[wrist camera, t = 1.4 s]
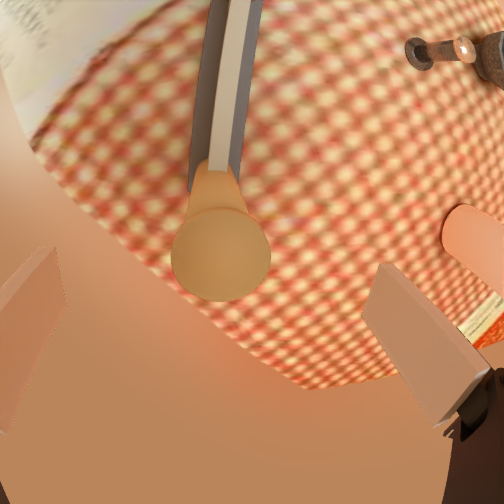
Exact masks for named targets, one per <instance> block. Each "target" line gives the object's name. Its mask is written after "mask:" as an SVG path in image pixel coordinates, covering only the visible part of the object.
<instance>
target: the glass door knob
mask: <svg viewBox="0 0 504 504" xmlns="http://www.w3.org/2000/svg"><path fill="white" fill-rule="evenodd" d="M405 52H406V56H407V58H408V60H409V62H410V63H411V65H412V66H413V67H415V68H416V69H418V70H422V71H424V70H429V69H430V68H431V67H432V66H433V63H434V62H441V61H462V62H463V63H473V62H474V61H475V60H476V51H475V48H474V45H473V44H472V42H471V41H470V40H469V39H468V38H467V37H465V36H459V37H455V38H454V40H448V41H440V42H433V43H426V42H425V41H424V40H422V39H420V38H411V39H409V40H408V41H407V43H406V45H405Z"/></svg>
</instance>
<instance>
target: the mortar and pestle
mask: <svg viewBox="0 0 504 504" xmlns="http://www.w3.org/2000/svg"><path fill="white" fill-rule="evenodd" d="M474 48H475V51H476V60H475V61H474V62H473V64H474V67H475V69H476V71H477V72H478V74H479V76H480V77H481V78H483V79H484V80H486V81H491V82H493V83H494V84H495V85H497V86H498V87H499V88H501V89H502V90H503V91H504V31H500V32H496V33H492V34H489V35H487V36H486V37H485V38H484V39H483V42H482V43H478V44H475V45H474Z"/></svg>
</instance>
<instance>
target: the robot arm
mask: <svg viewBox="0 0 504 504" xmlns="http://www.w3.org/2000/svg"><path fill="white" fill-rule="evenodd" d="M66 308H67V303H66V298H65V294H64V290H63V285H62V281H61V277H60V271H59V266H58V260H57V255H56V249H55V247H43V246H40V247H39V248H38V249H37V250H36V251H35V252H34V253H33V254H32V255H31V256H30V257H29V258H28V259H27V260H26V261H25V262H24V263H23V264H22V265H21V266H20V268H19V269H18V270H17V271H16V272H15V273H14V274H13V275H12V276H11V277H10V278H9V279H8V280H7V282H6V283H5V284H4V285H3V286H2V287H1V288H0V433H1V434H4V435H6V436H9V433H10V430H11V427H12V424H13V421H14V419H15V416H16V413H17V410H18V408H19V405H20V403H21V400H22V398H23V395H24V393H25V390H26V388H27V386H28V383H29V381H30V378H31V377H32V374H33V372H34V370H35V368H36V366H37V364H38V361H39V359H40V357H41V355H42V353H43V351H44V349H45V347H46V345H47V343H48V341H49V339H50V337H51V335H52V333H53V331H54V330H55V328H56V326H57V324H58V322H59V320H60V319H61V317H62V315H63V313H64V311H65V310H66ZM361 316H362V318H363V319H364V321H365V322H366V324H367V325H368V327H369V328H370V330H371V331H372V333H373V334H374V336H375V337H376V339H377V340H378V342H379V343H380V345H381V346H382V348H383V349H384V351H385V352H386V354H387V355H388V357H389V358H390V360H391V361H392V363H393V364H394V366H395V368H396V369H397V371H398V372H399V374H400V375H401V377H402V379H403V380H404V382H405V383H406V385H407V386H408V388H409V390H410V391H411V393H412V395H413V396H414V398H415V399H416V401H417V402H418V404H419V406H420V408H421V409H422V411H423V413H424V414H425V416H426V417H427V419H428V421H429V423H430V424H431V426H432V428H434V427H436V426H439V425H441V424H443V423H445V422H447V421H448V420H449V419H450V418H451V416H452V415H453V414H454V413H455V412H456V411H457V412H458V414H459V417H458V418H457V419H456V420H455V421H454V422H453V423H452V424H451V425H450V426H449V427H448V428H447V429H446V430H445V431H444V434H443V436H446V435H447V434H448V433H449V432H450V431H451V430H453V429H454V431H453V432H452V433H451V434H450V436H449V438H452V439H453V443H452V452H451V459H450V465H449V472H448V477H447V482H446V487H445V492H444V496H443V501H442V504H504V368H498V369H497V370H496V371H495V370H494V369H493V368H492V367H491V366H490V365H489V364H488V362H487V361H486V360H485V359H484V358H483V356H482V355H481V354H480V353H479V352H478V351H477V349H476V348H475V347H474V346H473V345H471V343H470V341H469V340H468V339H466V338H465V336H464V335H463V334H462V332H461V331H460V330H459V329H458V328H457V327H455V326H454V325H453V324H452V322H451V321H450V320H449V319H448V318H447V317H446V316H445V315H444V314H443V313H442V312H441V311H440V310H439V309H438V308H437V307H436V306H435V305H434V304H433V303H432V302H431V301H430V300H429V299H428V298H427V297H426V295H425V294H424V293H423V292H421V291H420V290H419V289H418V288H417V287H416V286H415V285H414V284H413V283H412V282H411V281H410V280H409V279H408V278H407V277H406V276H405V275H404V274H403V273H402V272H401V271H400V270H399V269H398V268H397V267H396V266H395V265H393V264H379V267H378V270H377V273H376V276H375V279H374V282H373V285H372V287H371V290H370V293H369V296H368V298H367V301H366V304H365V306H364V309H363V312H362V314H361ZM0 504H10V503H9V500H8V498H7V496H6V494H5V491H4V489H3V487H2V484H1V482H0Z"/></svg>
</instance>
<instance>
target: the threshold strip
mask: <svg viewBox="0 0 504 504" xmlns="http://www.w3.org/2000/svg"><path fill="white" fill-rule="evenodd" d="M228 5H229V1H227V0H212V2H211V7H210V12H209V17H208V23H207V28H206V34H205V40H204V46H203V52H202V59H201V66H200V73H199V80H198V87H197V95H196V103H195V112H194V121H193V131H192V141H191V152H190V164H189V177H188V191H189V192H191V190H192V186H193V182H194V177H195V173H196V169H197V167H198V165H199V164H200V163H201V162H202V161H203V160H205V159H207V158H208V156H209V146H210V137H211V128H212V119H213V111H214V103H215V95H216V87H217V80H218V73H219V66H220V59H221V53H222V46H223V40H224V34H225V28H226V22H227V16H228V11H227V10H228ZM262 5H263V0H255V1H253V2H250V8H249V14H248V20H247V26H246V33H245V39H244V45H243V52H242V59H241V65H240V72H239V79H238V87H237V94H236V101H235V109H234V117H233V125H232V133H231V141H230V149H229V158H228V164H229V165H230V167H231V169H232V172H233V174H234V177H235V179H236V182H237V184H238V177H239V169H240V161H241V153H242V145H243V137H244V129H245V122H246V114H247V107H248V99H249V92H250V85H251V78H252V71H253V64H254V57H255V50H256V44H257V37H258V30H259V24H260V18H261V11H262Z"/></svg>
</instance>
